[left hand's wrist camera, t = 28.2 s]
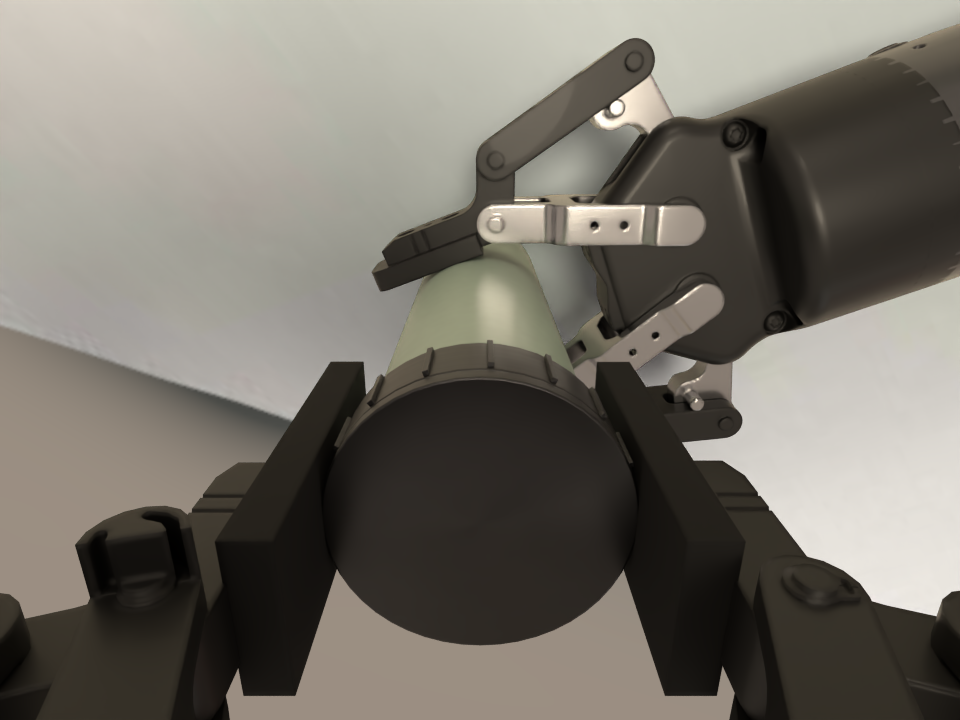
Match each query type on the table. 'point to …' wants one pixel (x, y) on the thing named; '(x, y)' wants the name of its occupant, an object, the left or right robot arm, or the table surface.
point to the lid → (480, 496)
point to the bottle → (482, 308)
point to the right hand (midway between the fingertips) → (412, 347)
